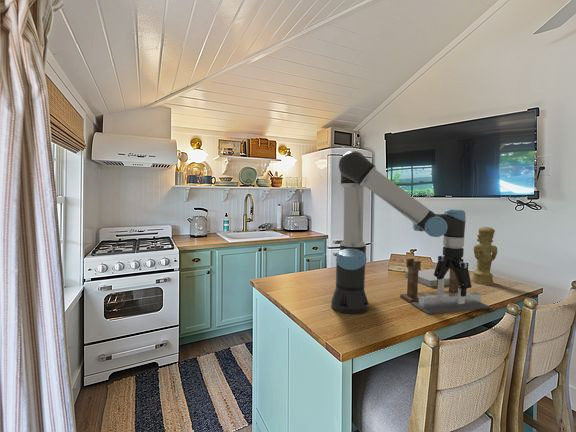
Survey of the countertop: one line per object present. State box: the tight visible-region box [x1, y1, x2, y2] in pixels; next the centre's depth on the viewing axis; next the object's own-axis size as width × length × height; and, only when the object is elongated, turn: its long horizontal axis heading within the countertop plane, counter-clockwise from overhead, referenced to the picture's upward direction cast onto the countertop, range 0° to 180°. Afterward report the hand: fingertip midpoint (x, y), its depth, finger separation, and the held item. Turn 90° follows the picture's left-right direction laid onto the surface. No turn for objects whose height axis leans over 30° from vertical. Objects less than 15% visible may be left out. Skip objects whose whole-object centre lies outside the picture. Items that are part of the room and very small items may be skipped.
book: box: [404, 268, 450, 288], centre depth 160 cm, size 18×4×24 cm
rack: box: [399, 258, 464, 304], centre depth 131 cm, size 29×7×18 cm, turn 103°
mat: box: [410, 302, 491, 315], centre depth 122 cm, size 30×10×1 cm, turn 103°
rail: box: [419, 291, 482, 308], centre depth 122 cm, size 28×3×4 cm, turn 103°
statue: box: [470, 226, 498, 286], centre depth 155 cm, size 11×10×30 cm
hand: (450, 298), depth 122 cm, fingers open, 10 cm apart
